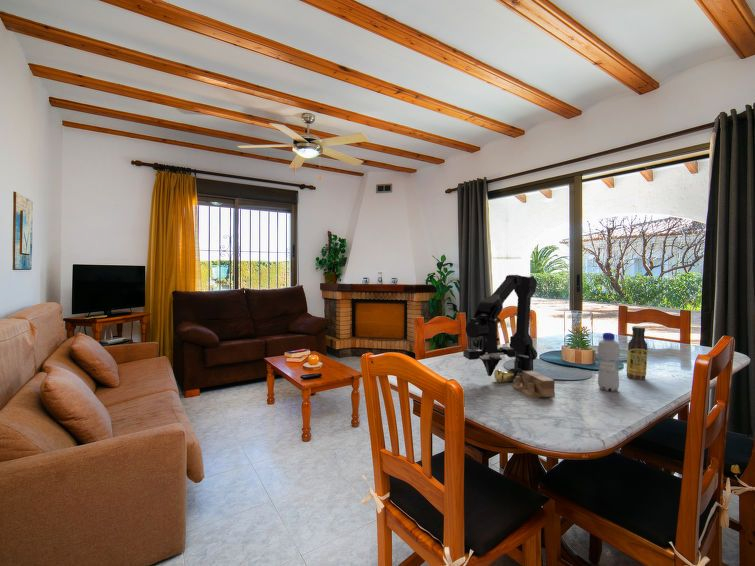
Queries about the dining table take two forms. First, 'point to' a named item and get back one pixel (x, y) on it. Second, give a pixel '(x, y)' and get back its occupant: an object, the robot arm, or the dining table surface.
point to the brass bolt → (503, 376)
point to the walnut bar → (538, 383)
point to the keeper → (516, 372)
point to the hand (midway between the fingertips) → (489, 375)
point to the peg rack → (526, 390)
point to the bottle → (608, 363)
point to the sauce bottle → (637, 355)
